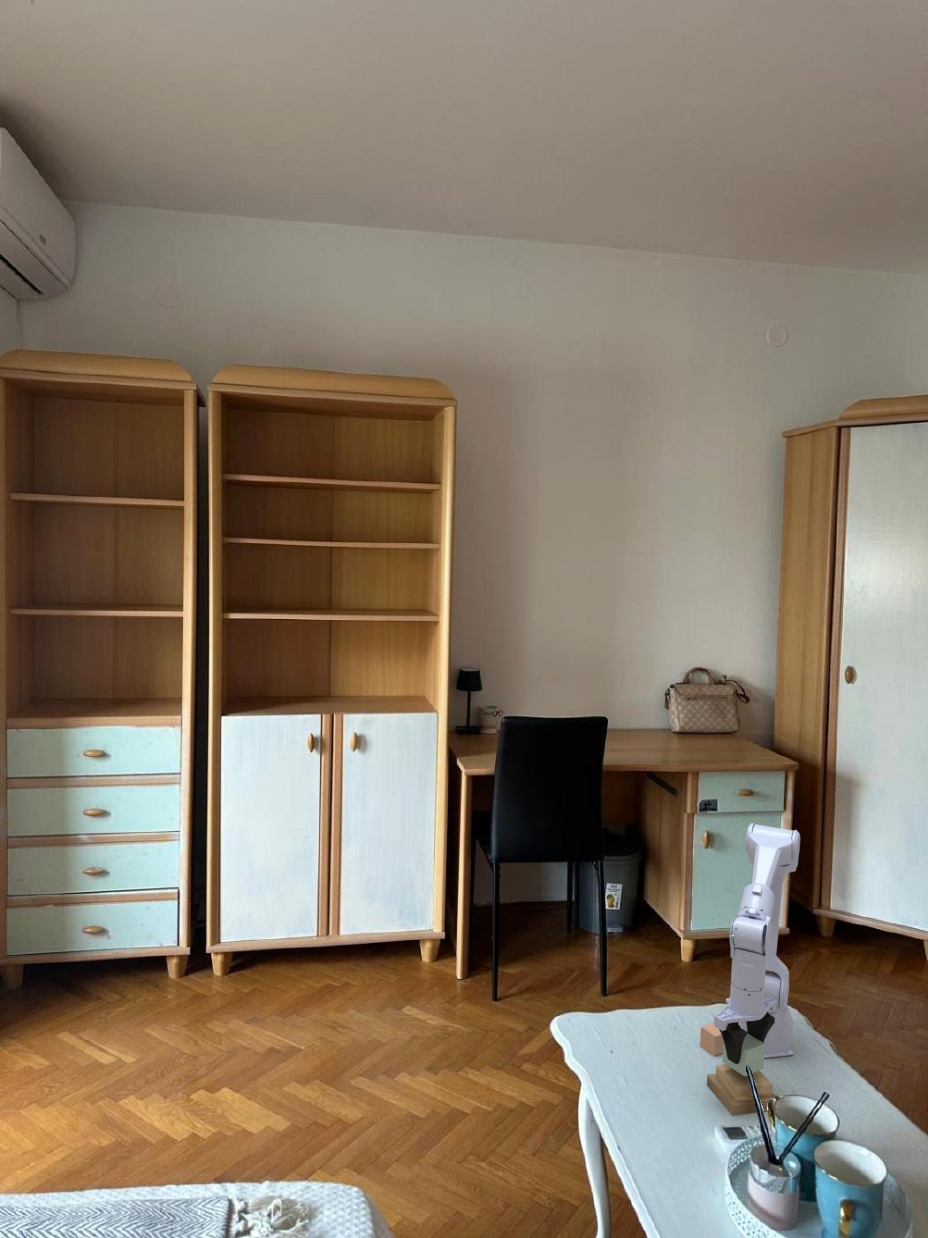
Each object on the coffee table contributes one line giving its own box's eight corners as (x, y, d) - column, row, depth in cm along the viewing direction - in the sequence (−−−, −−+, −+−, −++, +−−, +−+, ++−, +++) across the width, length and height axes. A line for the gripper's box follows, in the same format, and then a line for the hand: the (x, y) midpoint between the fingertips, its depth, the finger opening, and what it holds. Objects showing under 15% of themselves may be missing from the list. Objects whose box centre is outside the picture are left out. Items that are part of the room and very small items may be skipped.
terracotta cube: (714, 1041, 174) (715, 1022, 174) (729, 1051, 170) (730, 1032, 170) (699, 1045, 172) (700, 1026, 172) (714, 1056, 168) (715, 1036, 168)
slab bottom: (750, 1082, 161) (750, 1070, 161) (778, 1112, 153) (778, 1099, 152) (706, 1087, 159) (707, 1075, 159) (732, 1118, 150) (732, 1105, 150)
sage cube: (740, 1054, 159) (742, 1030, 159) (763, 1068, 155) (764, 1044, 154) (722, 1062, 156) (723, 1037, 156) (744, 1076, 152) (746, 1051, 152)
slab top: (749, 1073, 160) (750, 1061, 160) (771, 1097, 153) (772, 1084, 153) (715, 1077, 158) (716, 1065, 158) (736, 1101, 151) (736, 1088, 151)
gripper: (756, 965, 162) (752, 1035, 163) (702, 984, 154) (698, 1057, 155) (788, 981, 156) (783, 1054, 157) (733, 1001, 148) (729, 1077, 149)
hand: (743, 1056), depth 155 cm, fingers closed on sage cube, 5 cm apart
